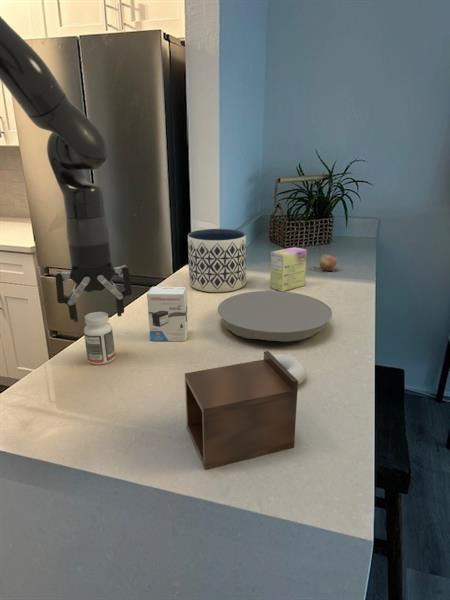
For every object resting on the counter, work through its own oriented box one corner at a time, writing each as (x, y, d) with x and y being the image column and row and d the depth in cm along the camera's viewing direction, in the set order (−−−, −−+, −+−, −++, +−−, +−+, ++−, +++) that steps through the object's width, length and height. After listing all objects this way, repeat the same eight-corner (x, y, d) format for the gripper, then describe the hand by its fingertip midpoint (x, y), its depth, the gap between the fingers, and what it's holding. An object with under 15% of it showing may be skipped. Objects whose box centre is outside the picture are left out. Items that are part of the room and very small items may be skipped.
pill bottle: (109, 350, 95) (104, 308, 92) (119, 360, 91) (115, 316, 87) (83, 357, 92) (78, 314, 88) (93, 368, 88) (87, 323, 84)
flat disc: (235, 301, 124) (235, 286, 123) (335, 312, 116) (336, 296, 115) (201, 341, 99) (200, 323, 98) (324, 358, 91) (326, 339, 90)
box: (292, 281, 142) (294, 246, 138) (305, 285, 138) (307, 249, 134) (269, 287, 136) (270, 251, 132) (282, 292, 132) (283, 254, 128)
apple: (317, 272, 152) (318, 256, 149) (320, 267, 159) (321, 251, 157) (334, 274, 150) (335, 257, 148) (337, 268, 157) (338, 252, 155)
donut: (244, 381, 83) (289, 397, 77) (243, 365, 82) (290, 380, 76) (271, 361, 90) (314, 375, 84) (271, 346, 89) (315, 359, 83)
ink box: (149, 341, 99) (146, 293, 95) (153, 332, 104) (150, 286, 100) (186, 341, 99) (184, 293, 95) (188, 332, 104) (187, 286, 100)
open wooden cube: (205, 469, 60) (203, 399, 56) (186, 428, 69) (184, 365, 65) (294, 447, 65) (298, 380, 61) (266, 410, 73) (268, 350, 70)
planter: (241, 294, 130) (242, 241, 124) (183, 292, 132) (181, 239, 127) (248, 277, 146) (249, 229, 141) (196, 275, 149) (194, 228, 144)
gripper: (48, 247, 77) (61, 330, 83) (128, 240, 81) (135, 319, 87) (49, 239, 84) (61, 316, 89) (123, 233, 88) (130, 307, 94)
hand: (98, 317), depth 88 cm, fingers open, 8 cm apart
